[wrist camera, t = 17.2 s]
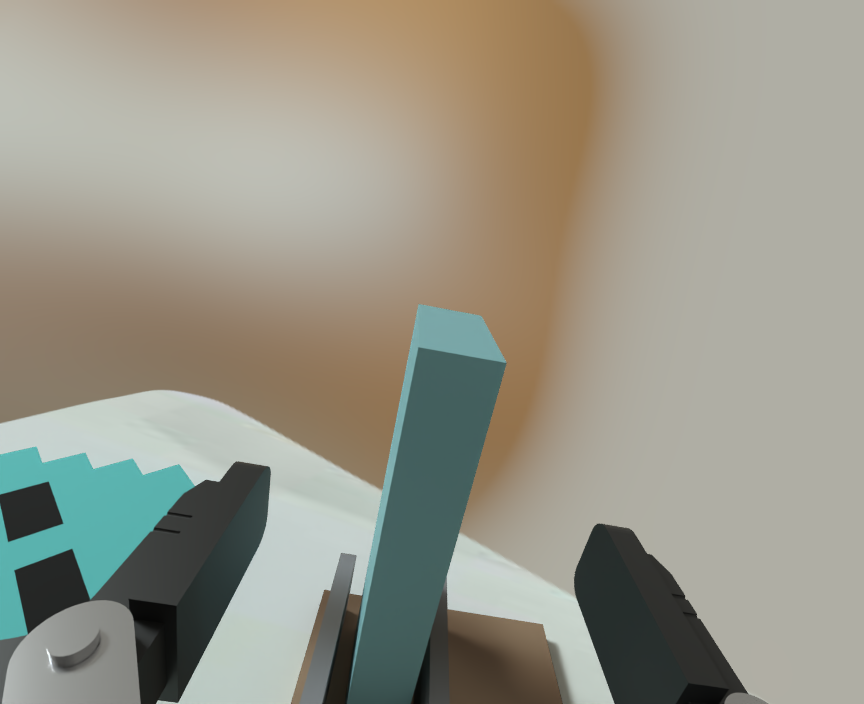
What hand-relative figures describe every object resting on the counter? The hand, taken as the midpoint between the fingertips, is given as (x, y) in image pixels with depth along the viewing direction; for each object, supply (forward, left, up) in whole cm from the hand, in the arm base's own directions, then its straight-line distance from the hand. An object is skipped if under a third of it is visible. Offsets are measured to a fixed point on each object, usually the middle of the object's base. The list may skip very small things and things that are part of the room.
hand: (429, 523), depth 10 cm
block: (+5, +2, -14) cm, 15 cm away
